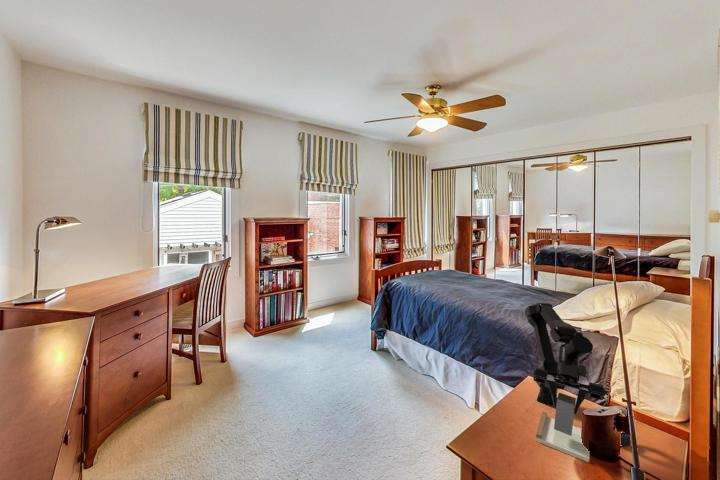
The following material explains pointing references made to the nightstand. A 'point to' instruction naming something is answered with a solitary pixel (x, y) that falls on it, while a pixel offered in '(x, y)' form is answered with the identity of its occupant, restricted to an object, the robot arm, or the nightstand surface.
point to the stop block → (564, 413)
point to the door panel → (561, 438)
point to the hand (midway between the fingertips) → (565, 411)
